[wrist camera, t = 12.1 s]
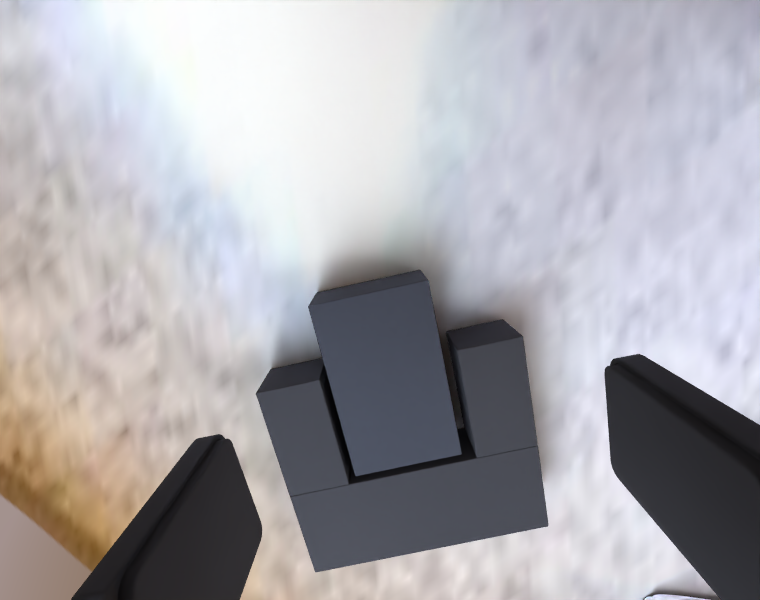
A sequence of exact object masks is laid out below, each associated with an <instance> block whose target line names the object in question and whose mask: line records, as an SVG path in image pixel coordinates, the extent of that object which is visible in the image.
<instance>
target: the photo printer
mask: <svg viewBox="0 0 760 600" xmlns="http://www.w3.org/2000/svg"><path fill="white" fill-rule="evenodd" d="M644 600H709V599H701V598H693V597H688V596H678V595H665V594H662V595H654V596H653V597H647V598H645V599H644Z"/></svg>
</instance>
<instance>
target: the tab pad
mask: <svg viewBox="0 0 760 600" xmlns="http://www.w3.org/2000/svg"><path fill="white" fill-rule="evenodd" d="M308 308H309V311H310V315H311V318H312V322H313V326H314V329H315V333H316V336H317V340H318V344H319V347H320V351H321V354H322V358H323V362H324V365H325V369H326V372H327V376H328V380H329V383H330V387H331V390H332V394H333V398H334V401H335V405H336V408H337V412H338V416H339V419H340V423H341V426H342V430H343V434H344V437H345V441H346V444H347V448H348V452H349V455H350V459H351V462H352V466H353V470H354V473H355V476H360V475H364V474H369V473H374V472H379V471H384V470H389V469H393V468H398V467H403V466H408V465H413V464H418V463H422V462H427V461H432V460H437V459H442V458H447V457H451V456H456V455H461V454H462V452H461V447H460V442H459V437H458V432H457V426H456V421H455V416H454V411H453V406H452V400H451V395H450V390H449V385H448V380H447V375H446V369H445V364H444V359H443V354H442V349H441V343H440V338H439V333H438V328H437V323H436V318H435V312H434V307H433V302H432V297H431V292H430V286H429V281H428V279H427V278H426V277H425V275H424V274H423V273H422V272H421V270H416V271H412V272H407V273H403V274H398V275H394V276H389V277H385V278H380V279H376V280H371V281H367V282H362V283H358V284H353V285H349V286H344V287H340V288H335V289H331V290H326V291H322V292H317V293H316V295H315V296H314V298H313V300H312V301H311V303H310V304H309V306H308Z"/></svg>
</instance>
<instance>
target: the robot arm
mask: <svg viewBox="0 0 760 600" xmlns="http://www.w3.org/2000/svg"><path fill="white" fill-rule="evenodd" d="M605 386H606V400H607V414H608V428H609V443H610V457H611V464H612V468H613V470H614V472H615V474H616V476H617V477H618V479H619V480H620V481H621V482H622V483H623V485H624V486H625V487H626V488H627V489H628V491H629V492H630V493H631V494H632V495H633V496H634V498H635V499H636V500H637V501H638V502H639V503H640V505H641V506H642V507H643V508H644V509H645V511H646V512H647V513H648V514H649V515H650V516H651V518H652V519H653V520H654V521H655V522H656V524H657V525H658V526H659V527H660V528H661V529H662V531H663V532H664V533H665V534H666V535H667V537H668V538H669V539H670V540H671V541H672V542H673V544H674V545H675V546H676V547H677V548H678V549H679V551H680V552H681V553H682V554H683V555H684V557H685V558H686V559H687V560H688V561H689V562H690V564H691V565H692V566H693V567H694V568H695V570H696V571H697V572H698V573H699V574H700V575H701V577H702V578H703V579H704V580H705V581H706V583H707V584H708V585H709V586H710V587H711V588H712V590H713V591H714V592H715V593H716V594H717V596H718V597H719V598H720V599H721V600H760V425H759V424H757V423H755V422H754V421H752V420H750V419H749V418H747V417H745V416H744V415H742V414H740V413H739V412H737V411H735V410H734V409H732V408H730V407H729V406H727V405H725V404H724V403H722V402H720V401H718V400H717V399H715V398H713V397H712V396H710V395H708V394H707V393H705V392H703V391H702V390H700V389H698V388H697V387H695V386H693V385H692V384H690V383H688V382H687V381H685V380H683V379H682V378H680V377H678V376H677V375H675V374H673V373H672V372H670V371H668V370H667V369H665V368H663V367H662V366H660V365H658V364H657V363H655V362H653V361H651V360H650V359H648V358H646V357H645V356H643V355H640V354H636V355H631V356H626V357H621V358H615V359H613V360H612V361H611V364H610V366H607V367H606V368H605ZM261 537H262V525H261V521H260V518H259V515H258V513H257V510H256V507H255V504H254V502H253V499H252V496H251V493H250V491H249V488H248V485H247V482H246V480H245V477H244V474H243V471H242V469H241V466H240V463H239V460H238V458H237V455H236V452H235V449H234V447H233V444H232V442H231V441H230V439H225V438H224V437H223V436H222V435H220V434H218V435H213V436H208V437H203V438H198V439H196V440H195V441H194V442H193V443H192V444H191V446H190V447H189V448H188V449H187V451H186V452H185V453H184V455H183V456H182V457H181V458H180V460H179V461H178V462H177V464H176V465H175V466H174V467H173V469H172V470H171V471H170V473H169V474H168V475H167V476H166V478H165V479H164V480H163V482H162V483H161V484H160V485H159V487H158V488H157V489H156V491H155V492H154V493H153V494H152V496H151V497H150V498H149V500H148V501H147V502H146V503H145V505H144V506H143V507H142V509H141V510H140V511H139V512H138V514H137V515H136V516H135V518H134V519H133V520H132V521H131V523H130V524H129V525H128V527H127V528H126V529H125V530H124V532H123V533H122V534H121V536H120V537H119V538H118V539H117V541H116V542H115V543H114V545H113V546H112V547H111V548H110V550H109V551H108V552H107V554H106V555H105V556H104V557H103V559H102V560H101V561H100V563H99V564H98V565H97V566H96V568H95V569H94V570H93V572H92V573H91V574H90V575H89V577H88V578H87V579H86V581H85V582H84V583H83V584H82V586H81V587H80V588H79V590H78V591H77V592H76V593H75V595H74V596H73V597H72V599H71V600H240V597H241V594H242V592H243V589H244V586H245V583H246V580H247V578H248V575H249V572H250V569H251V566H252V564H253V561H254V558H255V555H256V552H257V549H258V547H259V544H260V541H261Z"/></svg>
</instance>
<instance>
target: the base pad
mask: <svg viewBox="0 0 760 600" xmlns="http://www.w3.org/2000/svg"><path fill="white" fill-rule="evenodd" d="M446 334H447V339H448V345H449V350H450V355H451V361H452V366H453V371H454V377H455V382H456V387H457V393H458V398H459V403H460V409H461V414H462V419H463V425H464V428H460V429H457V432H458V437H459V442H460V447H461V452H462V454H461V455H456V456H451V457H447V458H442V459H437V460H432V461H427V462H422V463H418V464H413V465H408V466H403V467H398V468H393V469H389V470H384V471H379V472H374V473H369V474H364V475H360V476H355V473H354V470H353V466H352V462H351V459H350V455H349V452H348V448H347V444H346V441H345V437H344V434H343V430H342V426H341V423H340V419H339V416H338V412H337V408H336V405H335V401H334V398H333V394H332V390H331V387H330V383H329V380H328V376H327V372H326V369H325V365H324V362H323V358H321V359H316V360H312V361H307V362H303V363H298V364H293V365H289V366H284V367H279V368H275V369H271V370H270V371H269V373H268V375H267V376H266V378H265V379H264V381H263V383H262V384H261V386H260V388H259V389H258V391H257V393H256V395H257V398H258V401H259V404H260V407H261V410H262V413H263V416H264V419H265V422H266V425H267V428H268V431H269V434H270V437H271V440H272V443H273V446H274V449H275V452H276V455H277V458H278V461H279V464H280V468H281V471H282V474H283V477H284V480H285V483H286V486H287V489H288V492H289V495H290V497H291V500H292V503H293V506H294V509H295V512H296V515H297V518H298V521H299V524H300V528H301V531H302V534H303V537H304V540H305V543H306V546H307V549H308V552H309V555H310V558H311V561H312V564H313V567H314V570H315V572H320V571H325V570H330V569H335V568H340V567H345V566H350V565H355V564H360V563H365V562H370V561H375V560H380V559H385V558H390V557H395V556H400V555H406V554H411V553H416V552H421V551H426V550H431V549H436V548H441V547H446V546H451V545H456V544H461V543H466V542H471V541H476V540H481V539H486V538H491V537H496V536H501V535H506V534H511V533H516V532H521V531H526V530H531V529H536V528H541V527H547V526H548V518H547V511H546V503H545V496H544V489H543V481H542V474H541V466H540V459H539V451H538V446H537V437H536V430H535V423H534V415H533V408H532V400H531V393H530V386H529V378H528V371H527V363H526V356H525V349H524V341H523V336H522V335H521V334H519V333H518V332H517V331H516V330H515V329H514V328H512V327H511V326H510V325H509V324H508V323H507V322H506V321H504V320H503V319H502V320H497V321H493V322H488V323H483V324H479V325H474V326H470V327H465V328H460V329H456V330H451V331H447V332H446Z"/></svg>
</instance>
